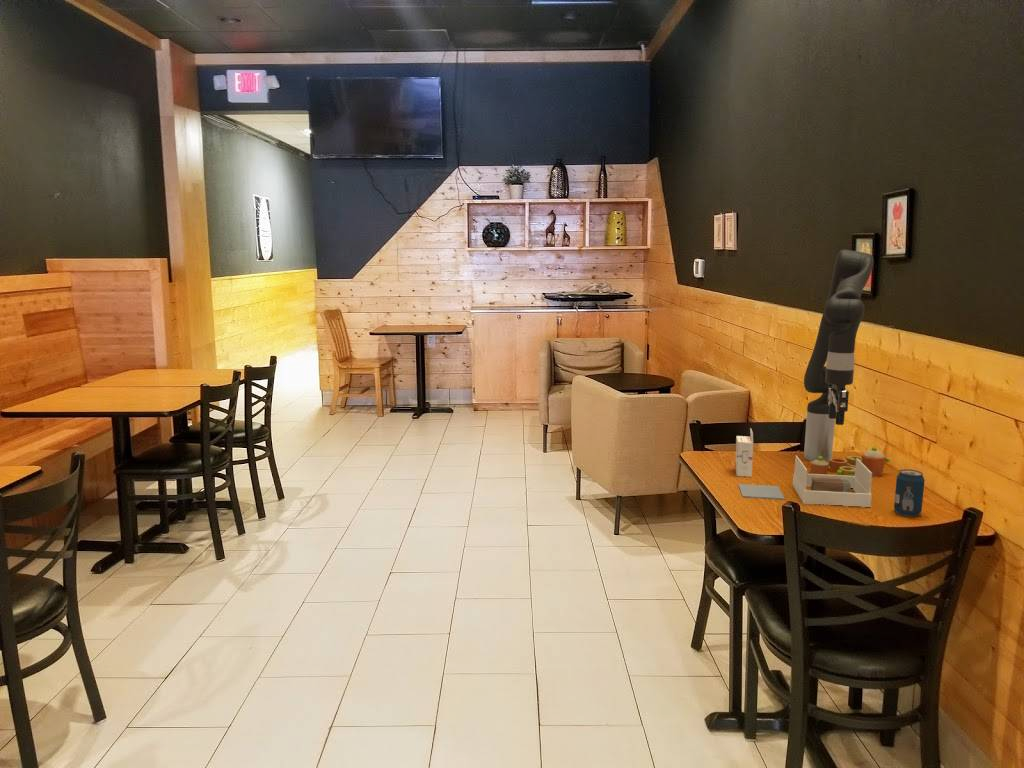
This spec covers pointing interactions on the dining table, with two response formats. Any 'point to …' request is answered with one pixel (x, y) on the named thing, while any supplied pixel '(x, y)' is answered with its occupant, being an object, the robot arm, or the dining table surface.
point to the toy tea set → (851, 464)
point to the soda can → (909, 492)
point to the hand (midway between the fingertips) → (835, 421)
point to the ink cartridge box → (744, 455)
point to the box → (830, 484)
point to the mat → (760, 491)
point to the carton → (858, 483)
